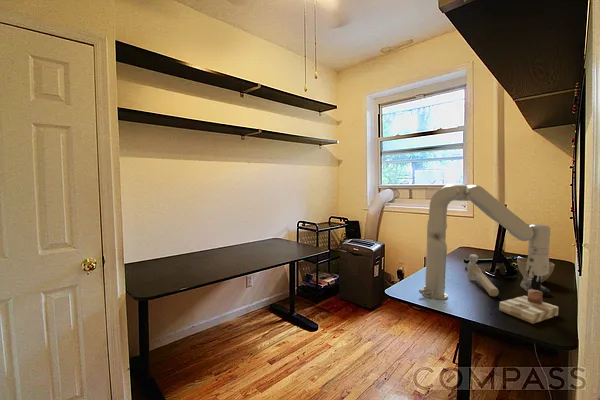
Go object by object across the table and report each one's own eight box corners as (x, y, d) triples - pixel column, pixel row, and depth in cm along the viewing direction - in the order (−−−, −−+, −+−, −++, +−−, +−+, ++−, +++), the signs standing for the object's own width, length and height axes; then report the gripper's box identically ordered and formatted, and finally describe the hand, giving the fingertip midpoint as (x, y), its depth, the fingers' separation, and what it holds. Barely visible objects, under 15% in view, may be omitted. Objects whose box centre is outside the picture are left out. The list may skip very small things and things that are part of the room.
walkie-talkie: (489, 276, 187) (468, 266, 207) (489, 269, 187) (468, 260, 207) (477, 276, 186) (457, 267, 206) (477, 269, 186) (457, 261, 206)
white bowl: (549, 287, 166) (551, 267, 165) (512, 279, 180) (513, 260, 179) (555, 281, 177) (557, 262, 176) (520, 273, 191) (521, 256, 190)
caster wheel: (550, 300, 154) (531, 296, 155) (536, 288, 165) (518, 285, 166) (555, 289, 152) (536, 286, 153) (541, 278, 163) (523, 275, 164)
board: (532, 323, 123) (533, 314, 123) (499, 310, 136) (499, 302, 135) (557, 315, 131) (558, 306, 131) (523, 303, 144) (524, 295, 143)
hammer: (501, 280, 149) (476, 254, 177) (491, 280, 150) (468, 253, 178) (496, 306, 153) (473, 276, 182) (486, 305, 154) (465, 275, 182)
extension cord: (526, 266, 209) (526, 264, 209) (522, 271, 198) (522, 268, 198) (506, 263, 218) (506, 260, 218) (501, 267, 207) (501, 264, 207)
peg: (537, 313, 132) (538, 294, 131) (524, 308, 137) (525, 290, 136) (544, 311, 134) (545, 292, 133) (530, 306, 139) (532, 288, 138)
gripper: (538, 254, 127) (535, 293, 128) (556, 251, 133) (553, 289, 134) (519, 250, 134) (517, 288, 135) (538, 247, 140) (535, 283, 141)
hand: (535, 288), depth 135 cm, fingers closed
